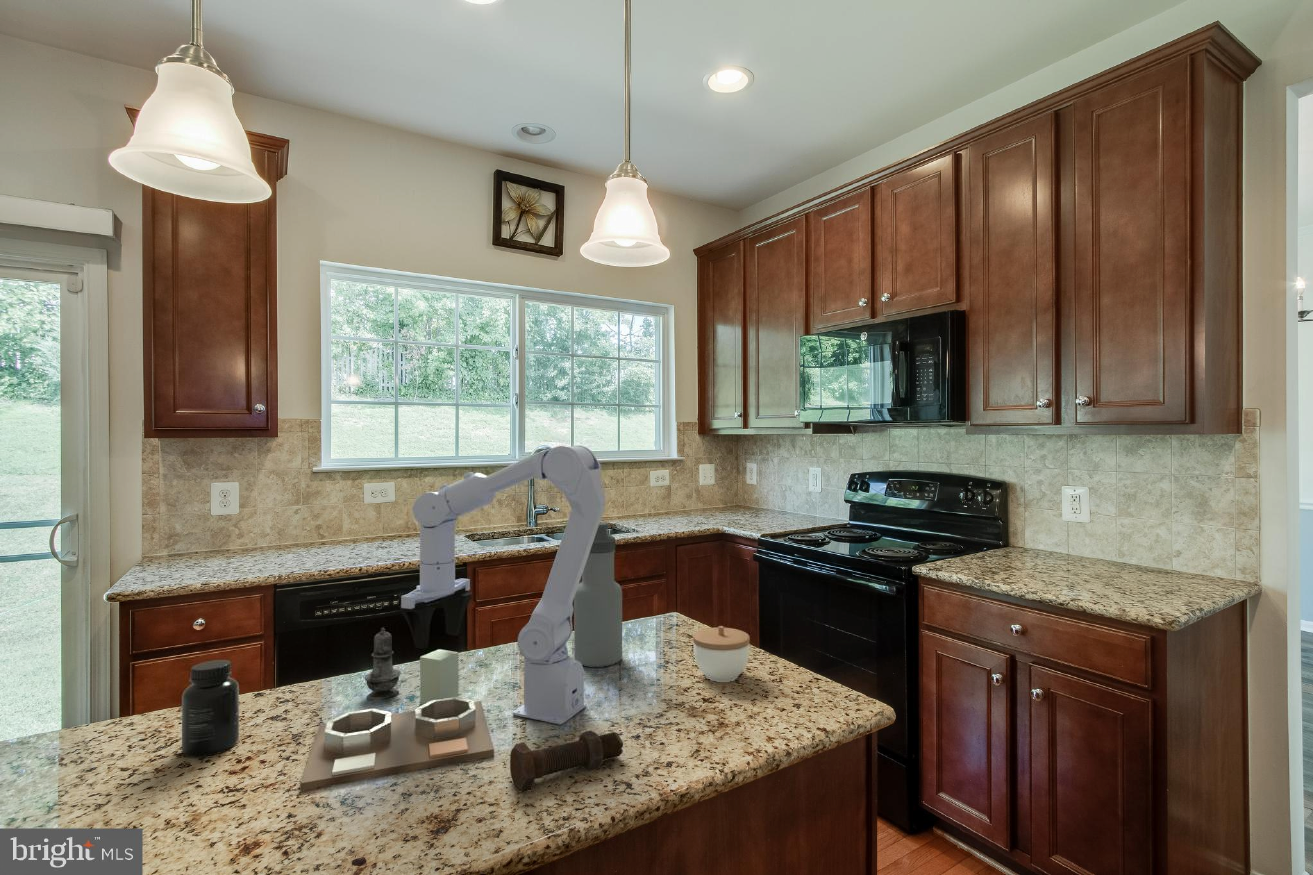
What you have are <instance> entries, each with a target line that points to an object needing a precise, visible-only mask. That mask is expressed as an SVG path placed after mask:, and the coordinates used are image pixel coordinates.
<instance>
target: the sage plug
mask: <svg viewBox="0 0 1313 875" xmlns="http://www.w3.org/2000/svg"><path fill="white" fill-rule="evenodd" d="M419 666H420V667H419V673H420V674H419V677H420V678H419V679H420V680H419V683H420V684H419V686H420V688H419V691H420V692H419V693H420V694H419V695H420V696H419V704H420V705H421V706H422V705H424V704H426V703H428V702H430V701H433V700H437V699H444V698H451V697H459V698H460V696H459V693H460V692H459V691H460V690H459V651H458V652H457V651H452V650H446V649H441V648H440V649H439V648H438V649H436V650H434V651H431V652H429V653H427V654H424V655H421V656H420V657H419Z"/></svg>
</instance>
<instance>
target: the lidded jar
mask: <svg viewBox="0 0 1313 875" xmlns="http://www.w3.org/2000/svg"><path fill="white" fill-rule="evenodd" d="M750 639H751V637H750V634H748V633H747V632H745V631H744V630H741V629H738V628H737V629H736V628H731V627H725V626H723V625H719V626H718V627H709V628H708V627H707V628H702V629H699V630H697V631H695V632H694V633H693V635H692V642H693V654H694V659H695V663H696V665H697V668H698V669H699V671H700V672H701V673H702V674H703V675H705V676H706V677H705V676H704V677H705V678H706V679H707V680H708V679H710V680H709V681H711V682H714V681H716V682H715V683H731V682H734V681H736V680H737V679H738V678H739V676H740V675H741V674H742V673H743V672H744V671H745V669H746V668H747V665H748V660H749V658H750V657H749V655H750V642H751V640H750ZM735 679H736V680H735ZM730 681H731V682H730Z"/></svg>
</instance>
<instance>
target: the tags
mask: <svg viewBox="0 0 1313 875" xmlns="http://www.w3.org/2000/svg"><path fill="white" fill-rule="evenodd" d="M429 750H430V758H435V757H441V756H447V755H452V754H458V753H464V752H468V747H467V741H466V738H461V739H455V740H449V741H443V742H437V743H431V744H429ZM375 756H376V753H371V754H365V755H359V756H353V757H347V758H341V759H335V762H334V767H333V771H332V775H338V774H343V773H349V772H355V771H361V770H366V769H372V768H374V765H375Z"/></svg>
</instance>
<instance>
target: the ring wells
mask: <svg viewBox="0 0 1313 875" xmlns="http://www.w3.org/2000/svg"><path fill="white" fill-rule="evenodd" d="M474 702H475V701H474V700H473V699H468V698H465V697H460V696H459V697H451V698H444V699H437V700H433V701H430V702H428V703H426V704H424V705H422V704H421V705H420V706H417V708H415V710H414V711H415V733H416V735H417V736H421V737H425V738H429V739H433V740H434V739H441V738H447V737H453V736H459V735H461V734H463V733H464V732H466V731H468V730H469V729H471V728H473V727H474V726H475V725H476V709H475V705H474ZM391 714H392V712H391V711H387V710H382V709H378V708H368V709H361V710H353V711H348V712H346V713H344V714H341V715H339V716H337V717H335V718H332V719H331V720H328V721H327V723H326V724H327V726H326V729H325V750H327V751H331V752H334V753H338V754H343V755H344V754H350V753H356V752H362V751H368V750H372V749H374V748H376V747H377V746H379V745H381V744H383V743H385V742H386V741H388V740H390V739H391ZM449 715H457V717H452V718H445V719H439V720H435V719H433V718H436V717H443V716H449ZM371 727H372V729H370V730H367V731H361V732H354V733H348V734H345V733H346V732H348V731H351V730H358V729H364V728H371Z"/></svg>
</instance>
